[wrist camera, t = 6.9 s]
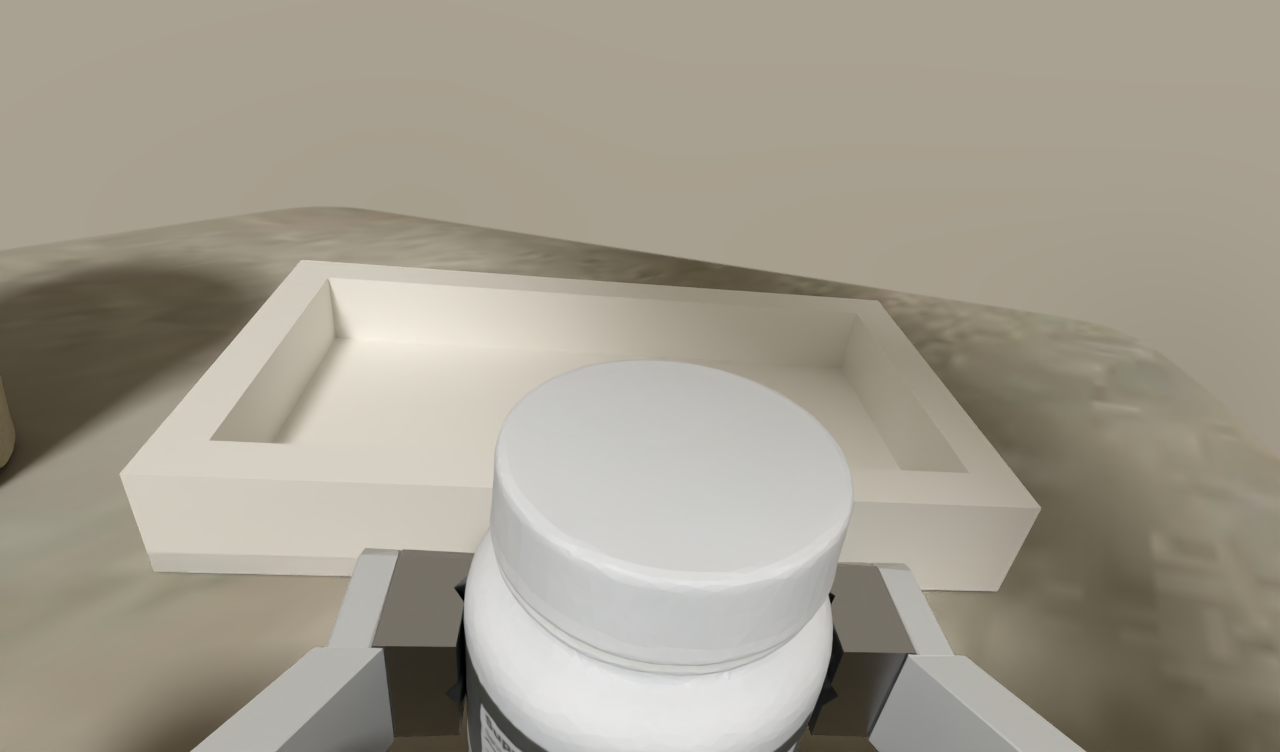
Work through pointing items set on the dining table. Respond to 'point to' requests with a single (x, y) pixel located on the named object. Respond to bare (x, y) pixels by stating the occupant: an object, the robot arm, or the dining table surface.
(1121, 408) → the dining table surface
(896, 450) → the tray
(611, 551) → the pill bottle
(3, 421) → the flower pot
